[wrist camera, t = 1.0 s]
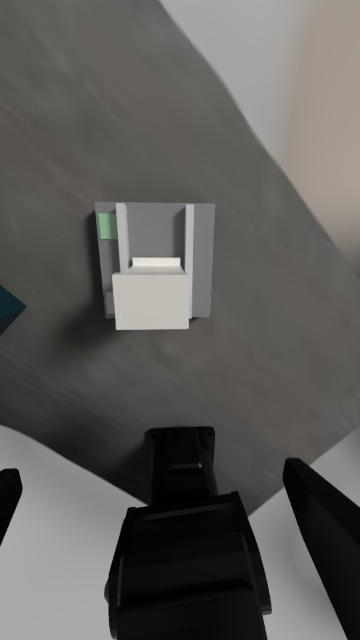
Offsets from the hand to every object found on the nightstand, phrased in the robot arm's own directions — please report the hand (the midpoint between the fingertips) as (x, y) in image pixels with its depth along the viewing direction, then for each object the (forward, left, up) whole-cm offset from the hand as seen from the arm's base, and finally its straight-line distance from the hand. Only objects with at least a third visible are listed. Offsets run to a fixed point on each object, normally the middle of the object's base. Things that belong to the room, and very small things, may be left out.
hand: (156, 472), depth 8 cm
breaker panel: (+6, 0, -13) cm, 14 cm away
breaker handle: (+5, 0, -11) cm, 12 cm away
